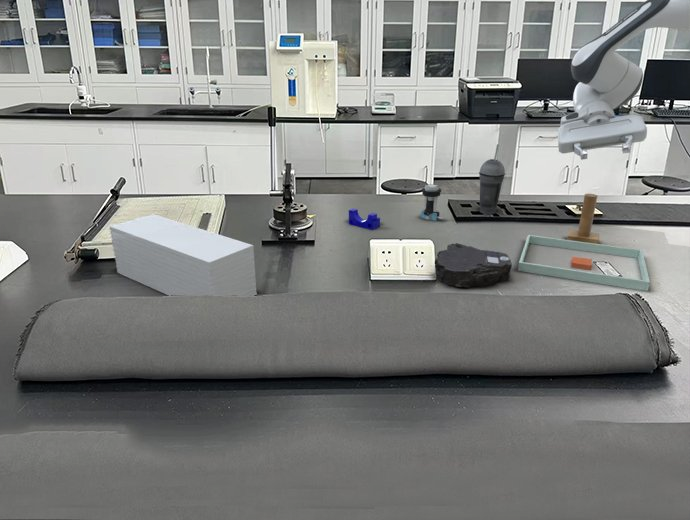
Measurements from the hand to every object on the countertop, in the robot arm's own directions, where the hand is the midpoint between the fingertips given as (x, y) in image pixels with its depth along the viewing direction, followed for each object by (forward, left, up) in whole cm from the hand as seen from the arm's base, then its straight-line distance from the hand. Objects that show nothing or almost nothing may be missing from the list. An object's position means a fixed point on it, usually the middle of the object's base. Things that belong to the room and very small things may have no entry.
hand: (605, 154), depth 129 cm
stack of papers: (+77, +65, -22) cm, 104 cm away
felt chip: (+2, +23, -21) cm, 31 cm away
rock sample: (+24, +37, -22) cm, 49 cm away
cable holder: (+57, +15, -22) cm, 63 cm away
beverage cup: (+28, -11, -22) cm, 37 cm away
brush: (+2, +8, -21) cm, 23 cm away
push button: (+41, +4, -22) cm, 46 cm away
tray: (+2, +22, -21) cm, 31 cm away
